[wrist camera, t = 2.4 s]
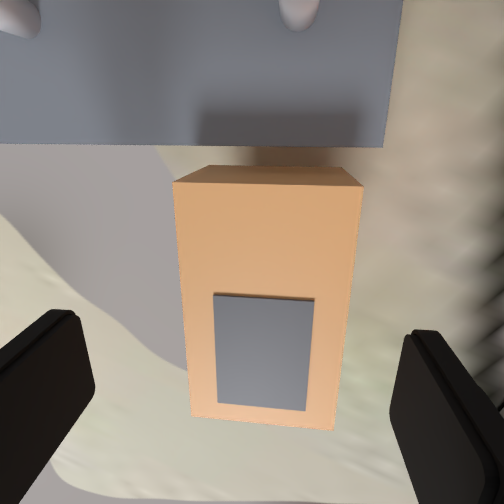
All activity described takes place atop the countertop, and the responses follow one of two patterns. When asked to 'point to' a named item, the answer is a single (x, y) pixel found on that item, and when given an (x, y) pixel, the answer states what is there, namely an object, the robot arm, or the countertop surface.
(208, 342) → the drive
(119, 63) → the pin tray
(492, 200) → the countertop surface
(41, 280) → the countertop surface
